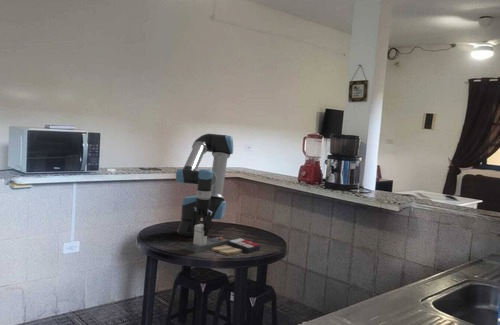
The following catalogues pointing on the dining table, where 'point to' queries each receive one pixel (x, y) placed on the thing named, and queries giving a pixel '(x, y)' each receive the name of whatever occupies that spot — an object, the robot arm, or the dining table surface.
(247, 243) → the calculator
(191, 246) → the grey handheld radio
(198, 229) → the block
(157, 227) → the dining table surface
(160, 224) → the dining table surface
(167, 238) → the dining table surface
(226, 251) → the wooden board
